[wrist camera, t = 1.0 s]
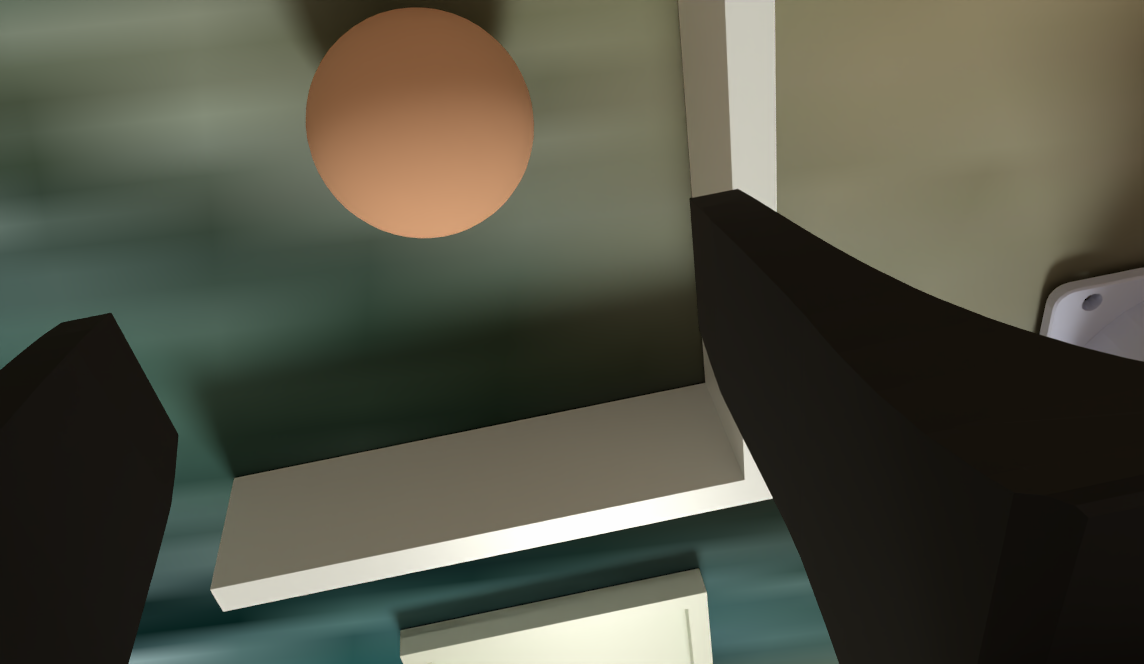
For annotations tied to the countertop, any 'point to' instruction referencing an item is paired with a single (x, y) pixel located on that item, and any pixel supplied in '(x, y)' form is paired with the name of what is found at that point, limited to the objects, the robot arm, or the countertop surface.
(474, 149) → the ball
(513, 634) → the tray
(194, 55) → the countertop surface
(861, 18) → the countertop surface
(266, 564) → the acrylic walls
